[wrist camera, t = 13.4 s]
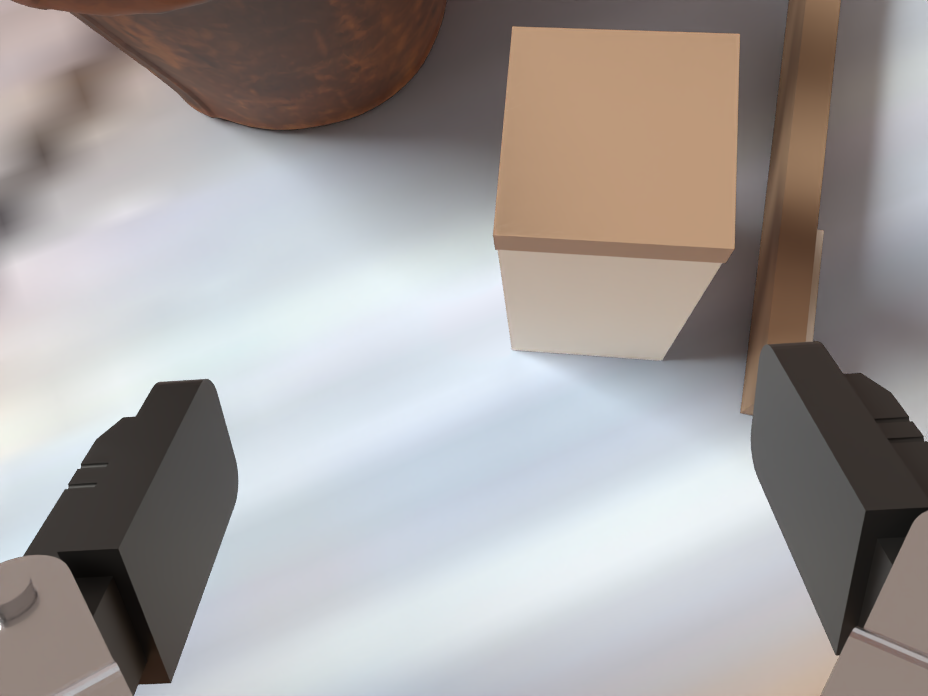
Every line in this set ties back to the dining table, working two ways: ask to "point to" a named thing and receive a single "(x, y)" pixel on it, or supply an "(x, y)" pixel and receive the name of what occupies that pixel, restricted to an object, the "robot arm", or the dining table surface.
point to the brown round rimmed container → (270, 52)
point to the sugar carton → (614, 185)
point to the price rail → (794, 187)
